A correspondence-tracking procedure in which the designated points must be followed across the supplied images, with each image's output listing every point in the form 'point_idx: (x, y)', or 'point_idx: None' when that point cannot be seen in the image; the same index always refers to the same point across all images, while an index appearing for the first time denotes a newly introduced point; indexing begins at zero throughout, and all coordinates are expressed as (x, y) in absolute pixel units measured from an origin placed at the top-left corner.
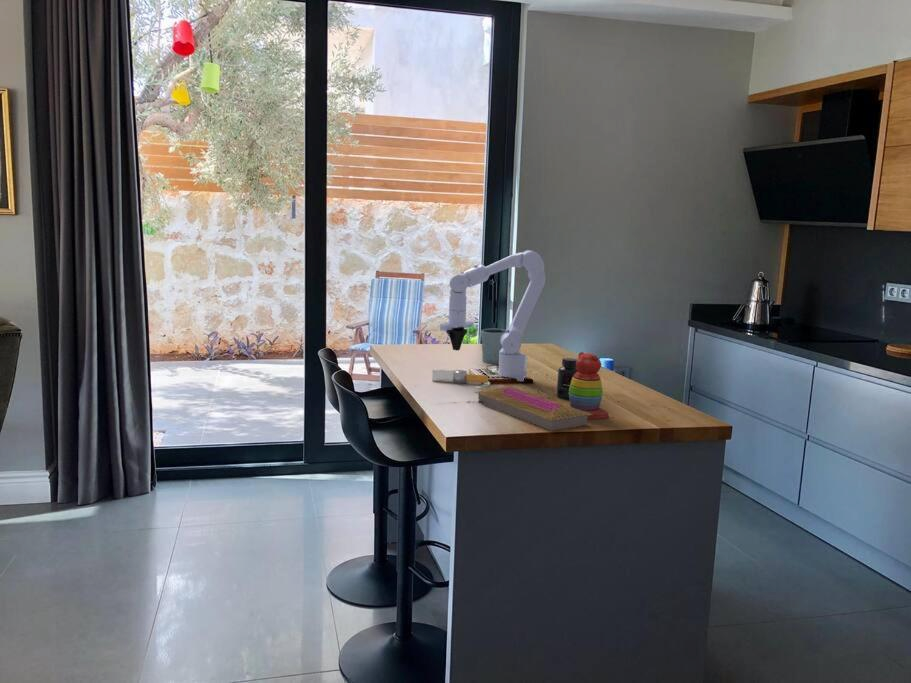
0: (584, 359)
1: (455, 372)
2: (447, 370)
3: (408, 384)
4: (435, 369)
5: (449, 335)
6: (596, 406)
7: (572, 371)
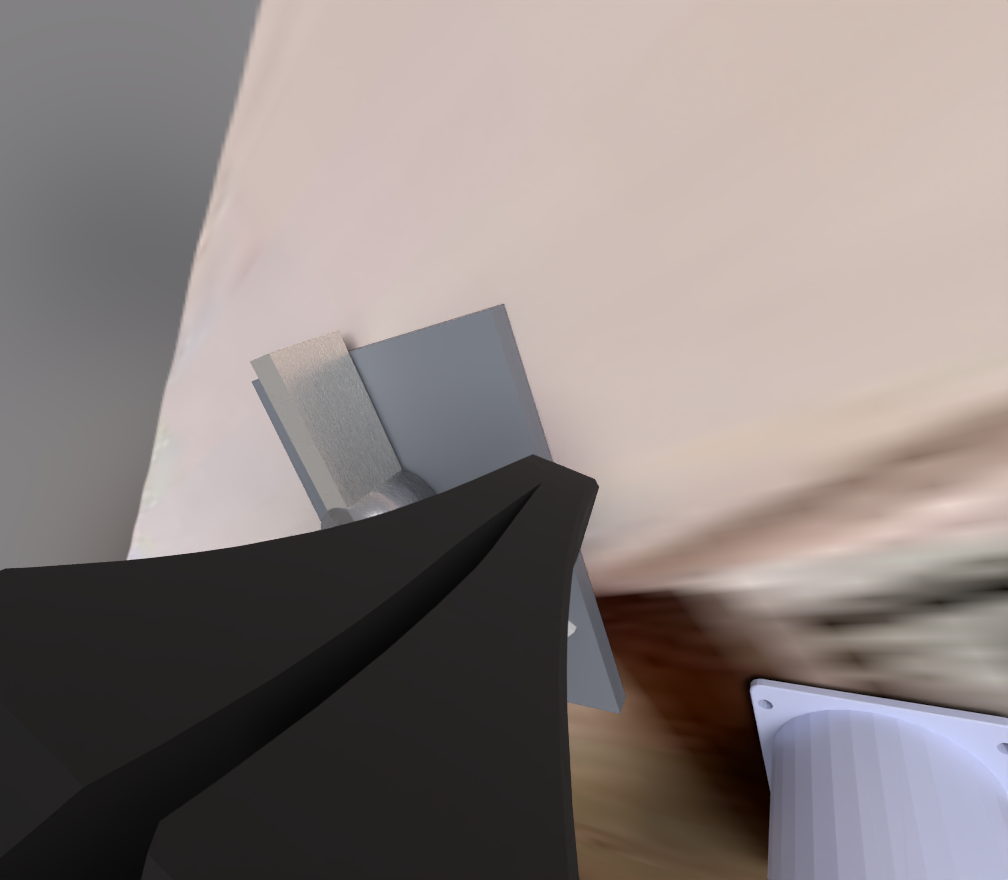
0: None
1: (321, 529)
2: (317, 466)
3: (236, 197)
4: (272, 374)
5: (229, 570)
6: None
7: None
